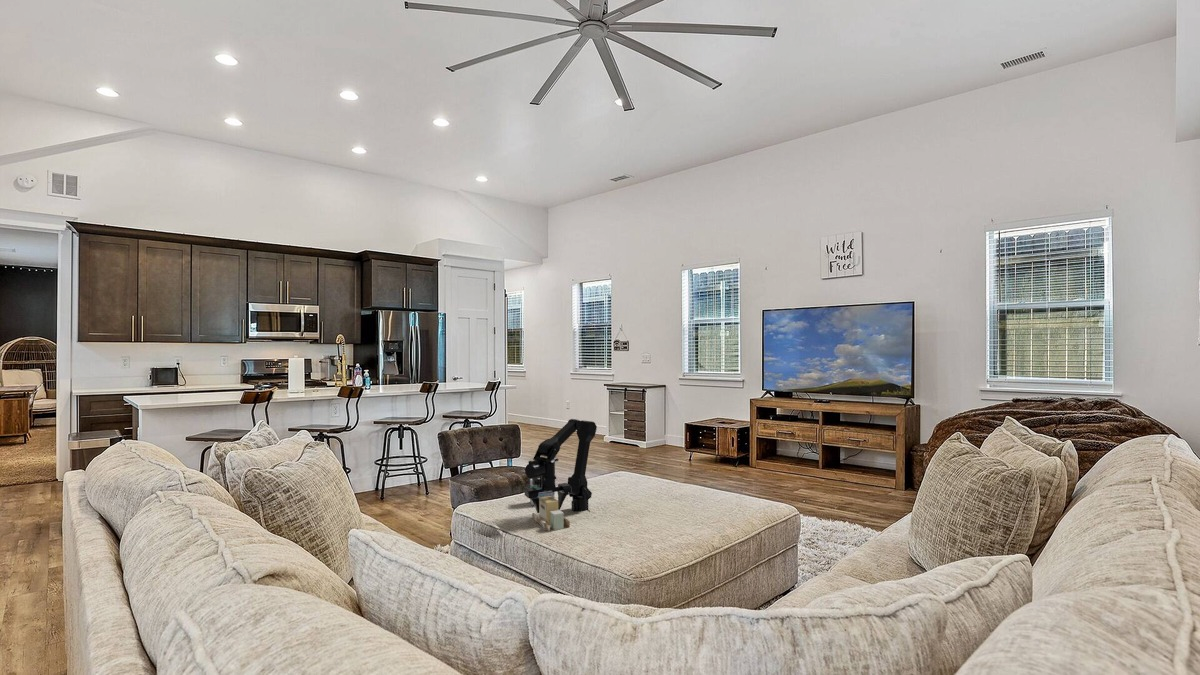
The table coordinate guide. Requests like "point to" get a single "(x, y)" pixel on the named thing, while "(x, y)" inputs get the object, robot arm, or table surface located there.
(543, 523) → the shelf
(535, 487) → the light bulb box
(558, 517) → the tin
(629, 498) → the table surface
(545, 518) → the carton
